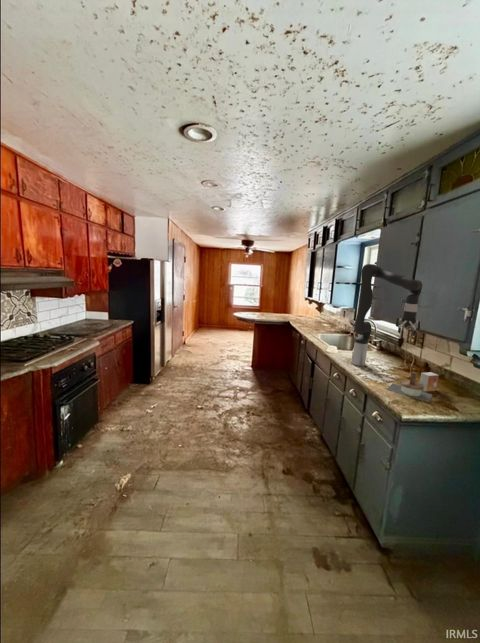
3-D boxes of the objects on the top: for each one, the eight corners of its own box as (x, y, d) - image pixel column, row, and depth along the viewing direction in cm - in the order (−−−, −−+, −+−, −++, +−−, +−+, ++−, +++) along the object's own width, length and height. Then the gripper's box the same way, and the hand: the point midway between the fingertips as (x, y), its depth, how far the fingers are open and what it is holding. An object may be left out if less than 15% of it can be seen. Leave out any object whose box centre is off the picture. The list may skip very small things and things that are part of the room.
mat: (386, 390, 176) (386, 389, 176) (392, 384, 187) (392, 383, 186) (428, 402, 162) (428, 402, 162) (432, 395, 172) (432, 394, 172)
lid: (398, 385, 172) (400, 372, 170) (403, 379, 180) (405, 367, 179) (421, 391, 164) (423, 378, 162) (425, 385, 173) (428, 373, 171)
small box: (425, 392, 176) (428, 375, 174) (418, 388, 182) (420, 372, 180) (436, 391, 179) (439, 375, 176) (428, 387, 184) (431, 371, 182)
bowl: (399, 392, 172) (400, 385, 171) (403, 388, 180) (404, 380, 179) (418, 398, 166) (419, 390, 165) (421, 393, 173) (423, 385, 172)
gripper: (397, 309, 193) (393, 333, 196) (421, 312, 183) (417, 337, 187) (399, 308, 198) (396, 331, 201) (424, 311, 189) (420, 335, 192)
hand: (406, 334), depth 194 cm, fingers open, 8 cm apart
